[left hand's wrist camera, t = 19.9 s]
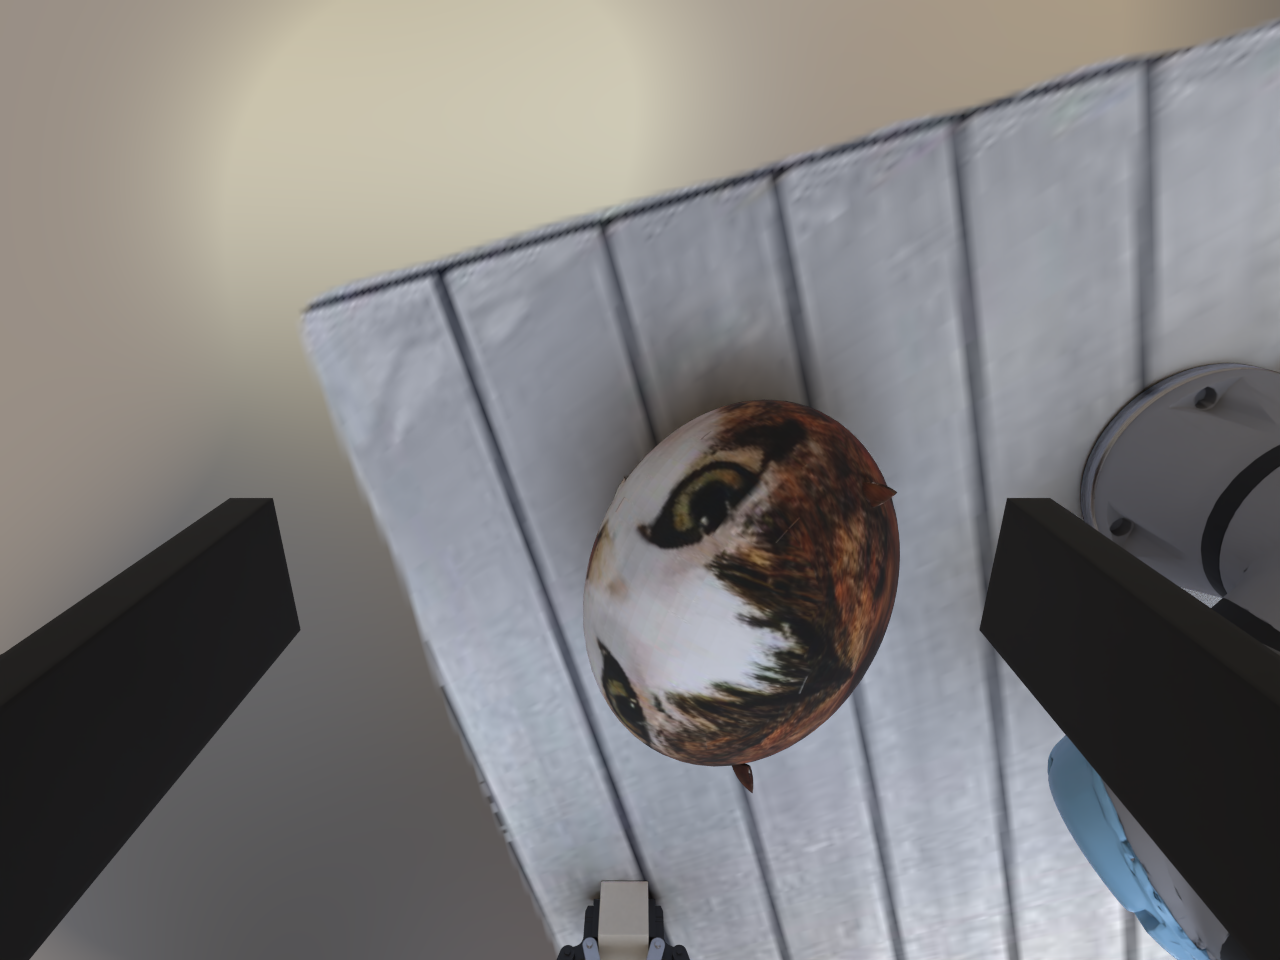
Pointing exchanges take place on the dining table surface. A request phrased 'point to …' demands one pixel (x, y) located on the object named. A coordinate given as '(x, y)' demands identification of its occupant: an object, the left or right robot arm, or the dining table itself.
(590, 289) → the dining table surface
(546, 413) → the dining table surface
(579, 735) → the dining table surface
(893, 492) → the cat face balloon
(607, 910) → the block
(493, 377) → the dining table surface
